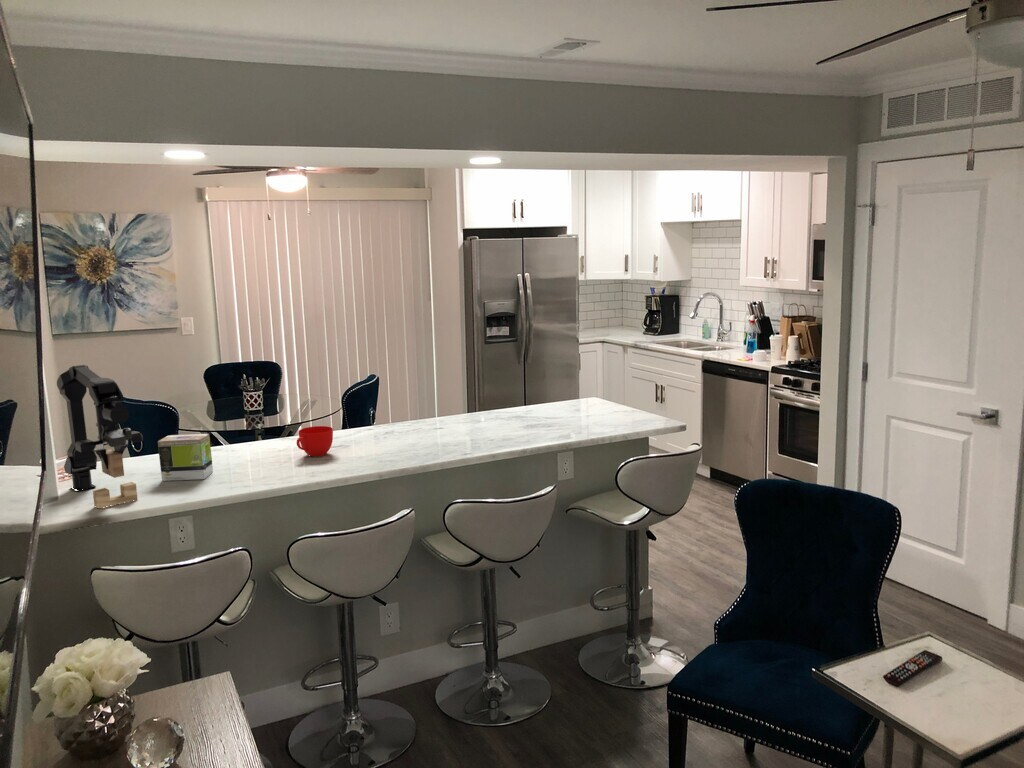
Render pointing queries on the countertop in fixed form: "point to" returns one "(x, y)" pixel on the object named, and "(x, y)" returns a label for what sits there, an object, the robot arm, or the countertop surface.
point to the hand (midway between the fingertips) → (112, 467)
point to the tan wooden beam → (113, 464)
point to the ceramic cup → (315, 440)
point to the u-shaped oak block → (104, 498)
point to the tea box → (185, 457)
